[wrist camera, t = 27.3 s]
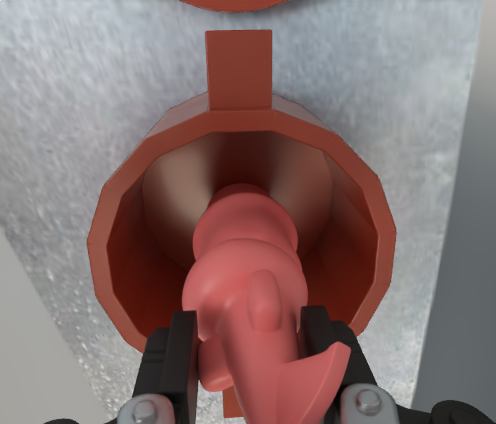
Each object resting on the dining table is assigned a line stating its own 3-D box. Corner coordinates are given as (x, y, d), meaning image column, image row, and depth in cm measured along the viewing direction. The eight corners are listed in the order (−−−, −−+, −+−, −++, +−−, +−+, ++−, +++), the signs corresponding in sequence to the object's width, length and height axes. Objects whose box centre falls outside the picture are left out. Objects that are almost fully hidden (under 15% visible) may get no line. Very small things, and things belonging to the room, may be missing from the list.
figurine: (226, 150, 22) (250, 325, 8) (307, 201, 23) (446, 427, 9) (175, 229, 23) (119, 497, 9) (253, 273, 25) (307, 566, 11)
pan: (146, 328, 29) (118, 435, 21) (111, 36, 23) (50, 32, 15) (334, 320, 30) (375, 421, 22) (353, 32, 23) (421, 26, 15)
